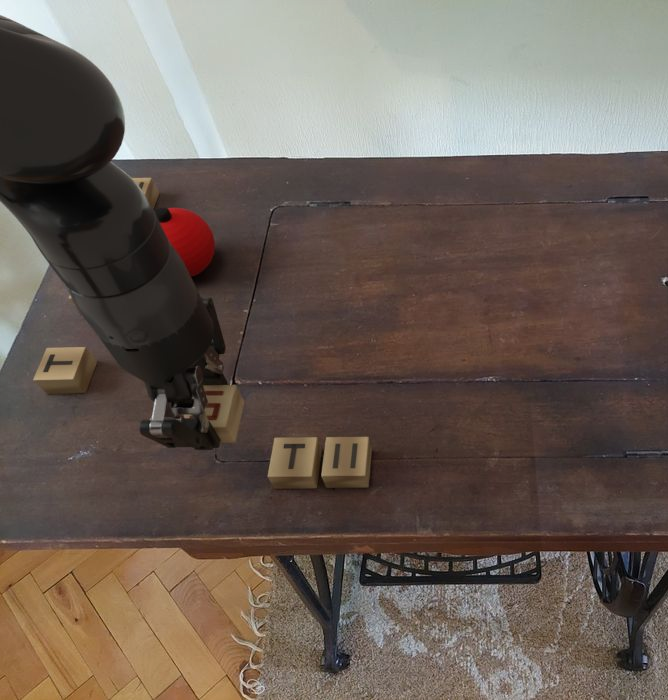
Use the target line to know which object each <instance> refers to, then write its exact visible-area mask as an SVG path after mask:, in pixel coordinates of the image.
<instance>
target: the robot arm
mask: <svg viewBox="0 0 668 700" xmlns="http://www.w3.org/2000/svg"><path fill="white" fill-rule="evenodd" d="M125 132H126V117H125V111H124V106H123V104H122V101H121V98H120V96H119V94H118V92H117V90H116V88H115V87H114V85H113V83H112V82H111V81H110V80H109V78H108V77H107V75H105V73H104V72H103V71H102V70H101V69H100V67H98V66H97V65H96V64H95V63H94V62H93V61H91V60H90V59H89V58H87V57H86V56H85V55H83V54H82V53H80V52H79V51H77V50H75V49H74V48H71V47H69V46H68V45H66V44H64V43H62V42H59V41H57V40H55V39H53V38H51V37H48V36H47V35H44V34H42V33H40V32H38V31H36V30H34V29H32V28H30V27H28V26H25V25H24V24H21V23H20V22H17V21H16V20H13V19H11V18H9V17H7V16H4V15H1V14H0V203H1V204H2V205H3V206H4V207H5V208H6V209H7V210H8V211H9V212H10V213H11V214H12V215H13V217H14V218H16V220H17V221H18V222H19V223H20V224H21V226H22V227H23V228H24V229H25V230H26V232H27V234H29V236H30V237H31V239H32V240H33V242H34V244H35V246H36V248H37V249H38V250H39V252H40V253H41V255H42V256H43V257H44V259H45V260H46V262H47V263H48V265H50V267H51V268H52V270H53V271H54V272H55V274H56V275H57V277H58V278H59V279H60V281H61V282H62V283H63V285H64V286H65V287H66V289H67V291H68V293H69V296H70V295H71V298H72V300H73V302H74V303H75V305H76V307H77V309H78V310H79V311H78V310H77V309H76V310H77V311H78V313H79V312H80V313H79V314H81V316H82V317H83V318H84V320H85V321H86V322H87V324H88V326H90V328H91V329H92V331H93V332H94V333H95V335H96V337H98V339H99V340H100V342H102V344H103V346H104V347H105V348H106V350H107V351H108V352H109V354H110V355H111V356H112V358H113V359H114V361H116V363H117V364H118V365H119V366H120V368H122V369H123V370H124V371H125V372H127V373H128V374H130V375H132V376H133V377H135V378H137V379H139V380H140V381H141V382H143V383H144V386H145V387H146V393H147V395H148V398H149V399H150V400H151V401H152V402H153V410H152V414H151V417H150V418H149V419H142V420H140V424H139V433H140V435H141V436H142V437H145V438H146V439H149V440H152V441H154V442H156V443H158V444H160V445H161V446H163V447H166V448H168V449H177V448H193V449H194V451H195V450H196V451H214V449H218V448H219V447H220V445H221V443H220V441H221V439H220V438H219V436H218V435H217V433H216V431H215V430H214V428H213V426H212V424H211V423H210V421H208V419H207V415H206V412H205V408H206V406H207V404H208V400H207V396H206V393H205V390H204V387H203V385H229V383H228V380H227V378H226V377H225V374H224V373H223V372H224V369H225V366H224V363H223V361H222V360H221V359H220V355H225V353H226V349H227V347H226V343H225V339H224V335H223V332H222V328H221V324H220V321H219V317H218V314H217V311H216V308H215V304H214V300H213V298H212V297H202V296H201V294H200V292H199V290H198V288H197V286H196V284H195V281H194V280H193V278H192V277H191V276H190V274H189V272H188V270H187V268H186V266H185V264H184V262H183V260H182V259H181V257H180V256H179V254H178V253H177V251H176V250H175V249H174V247H173V246H172V245H171V243H170V242H169V240H168V238H167V236H166V234H165V232H164V230H163V228H162V226H161V224H160V222H159V220H158V218H157V216H156V214H155V211H154V210H153V208H152V206H151V204H150V203H149V201H148V199H147V197H146V196H145V194H144V193H143V191H142V190H141V188H140V187H139V186H138V185H137V184H136V182H135V181H134V180H133V179H132V178H133V177H131V176H130V175H129V174H128V173H126V172H125V171H124V170H123V169H121V167H119V166H118V165H116V164H115V163H113V162H112V161H113V160H114V158H115V157H116V156H117V154H118V152H119V151H120V150H121V146H122V144H123V142H124V136H125ZM76 307H75V308H76ZM191 398H193V399H191ZM184 415H193V416H194V418H184Z"/></svg>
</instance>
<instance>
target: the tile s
mask: <svg viewBox="0 0 668 700" xmlns="http://www.w3.org/2000/svg"><path fill="white" fill-rule="evenodd" d="M203 387H204V390H205V393H206V396H207V400H208V404H207V406H206V408H205V412H206V415H207V419H208V421H210V423H211V424H212V426H213V428H214V430H215V431H216V433H217V435H218V436H219V438H220V439H221V441H220V444H235V443H236V441H237V437H238V433H239V428H240V424H241V421H242V420H241V419H242V416H243V415H242V414H243V411H244V406H245V400H244V398H243V396H242V394H241V391H240V390H239V388H238V386H237V385H236V384H228V385H203ZM191 399H193V398H191ZM184 418H194V416H193V415H184Z"/></svg>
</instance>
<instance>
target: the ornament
mask: <svg viewBox="0 0 668 700" xmlns="http://www.w3.org/2000/svg"><path fill="white" fill-rule="evenodd" d="M154 212H155V214H156V216H157V218H158V220H159V222H160V224H161V226H162V228H163V230H164V232H165V234H166V236H167V238H168V240H169V242H170V243H171V245H172V246H173V247H174V249H175V250H176V251H177V253H178V254H179V256H180V257H181V259H182V260H183V262H184V264H185V266H186V268H187V270H188V272H189V274H190V276H191V278H192V277H195V276H197V275H199V274H200V273H202V272H203V271H204V270H205V269H206V268H207V267H208V266H209V265H210V264H211V262H212V260H213V258H214V254H215V251H216V249H215V248H216V241H215V238H214V233H213V231H212V229H211V227H210V226H209V224H208V222H207V221H205V220H204V219H203V218H202V217H201V216H200V215H198V214H197V213H195V212H194V211H191V210H190V209H186V208H182V207H158V208H157V209H156V210H155V211H154Z"/></svg>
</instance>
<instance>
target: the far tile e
mask: <svg viewBox="0 0 668 700" xmlns="http://www.w3.org/2000/svg"><path fill="white" fill-rule="evenodd" d="M131 178H132V179H133V180H134V181H135V182H136V184H137V185H138V186H139V187H140V188H141V190H142V191H143V193H144V194H145V196H146V197H147V199H148V201H149V203H150V204H151V206H152V208H153V211H154V210H155V206H156V204H157V201H158V199H159V195H160V192H159V190H158V188H157V186H156V184H155V182H154V180H153V178H152V177H131Z"/></svg>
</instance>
